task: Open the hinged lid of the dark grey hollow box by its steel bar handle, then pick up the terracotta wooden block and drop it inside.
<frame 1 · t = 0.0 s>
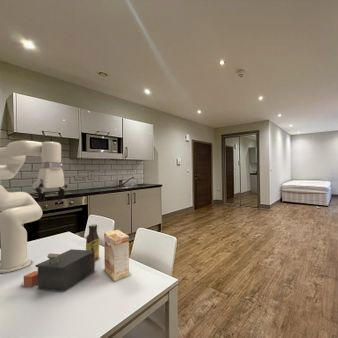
hand: (52, 199, 99), 37 cm above the table, tool pointing down, fingers open, 9 cm apart
sauce bottle: (92, 260, 110), on the table
block: (33, 283, 87), on the table
washer lid: (67, 253, 90), point 12 cm above the table, hinge at 0.0°
coffeecake box: (116, 273, 96), on the table
dark grey hollow box: (68, 279, 90), on the table
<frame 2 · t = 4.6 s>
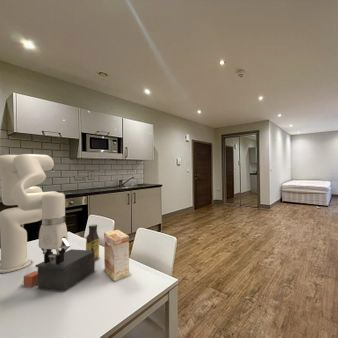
hand: (54, 262, 84), 11 cm above the table, tool pointing down, fingers closed on washer lid, 5 cm apart
washer lid: (67, 253, 90), point 12 cm above the table, hinge at 0.0°, touching gripper
everything else where it was.
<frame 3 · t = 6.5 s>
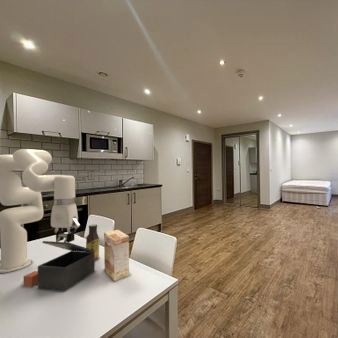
hand: (65, 240, 89), 19 cm above the table, tool pointing down, fingers closed on washer lid, 5 cm apart
washer lid: (72, 242, 92), point 17 cm above the table, hinge at 34.7°, touching gripper
everything else where it was.
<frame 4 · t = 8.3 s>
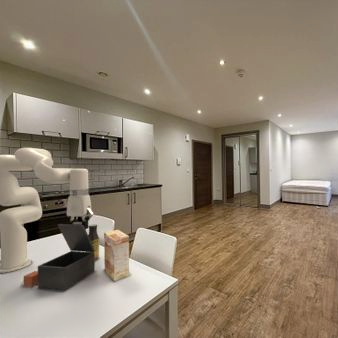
hand: (80, 228, 96), 22 cm above the table, tool pointing down, fingers closed on washer lid, 5 cm apart
washer lid: (80, 235, 97), point 19 cm above the table, hinge at 66.5°, touching gripper
everything else where it was.
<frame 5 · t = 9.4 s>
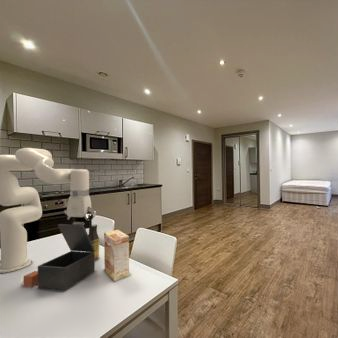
hand: (80, 227, 97), 23 cm above the table, tool pointing down, fingers open, 9 cm apart
washer lid: (80, 235, 97), point 19 cm above the table, hinge at 66.4°
everything else where it was.
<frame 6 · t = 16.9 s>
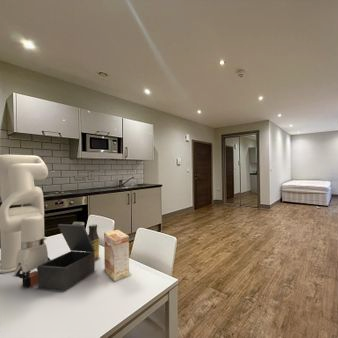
hand: (33, 282, 87), 0 cm above the table, tool pointing down, fingers closed on block, 4 cm apart
block: (33, 283, 87), on the table, touching gripper
everything else where it was.
when the fingers open (9 cm above the table, at t = 24.8 s): block drops 8 cm, resting on dark grey hollow box.
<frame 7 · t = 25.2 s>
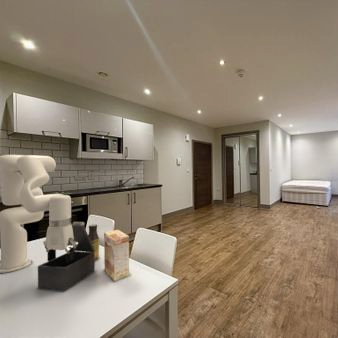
hand: (60, 260, 87), 11 cm above the table, tool pointing down, fingers open, 9 cm apart
block: (61, 282, 87), point 1 cm above the table, touching dark grey hollow box
everything else where it was.
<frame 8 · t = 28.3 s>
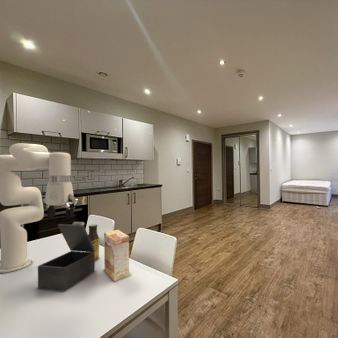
hand: (60, 217, 87), 30 cm above the table, tool pointing down, fingers open, 9 cm apart
nothing on the table moved.
at the end: washer lid at +66° (first picture: +0°); block inside the target area in the dark grey hollow box (3.5 cm from its centre), point 0.8 cm above the dark grey hollow box's base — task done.
